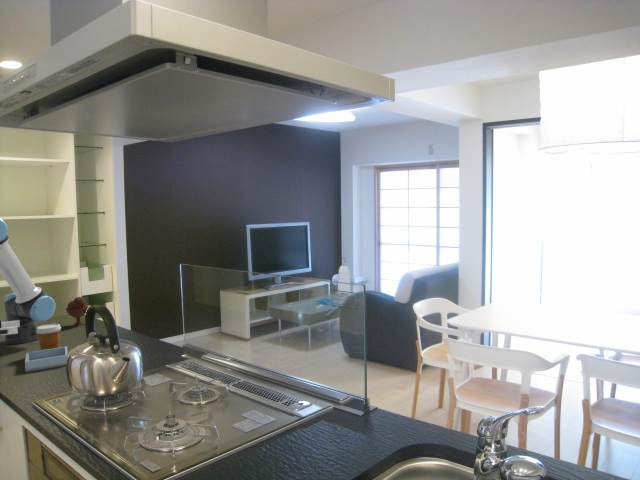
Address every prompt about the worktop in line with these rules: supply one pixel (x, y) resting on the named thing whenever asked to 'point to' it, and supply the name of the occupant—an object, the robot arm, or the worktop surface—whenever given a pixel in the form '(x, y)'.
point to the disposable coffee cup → (49, 336)
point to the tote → (45, 359)
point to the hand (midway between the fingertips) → (18, 326)
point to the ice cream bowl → (77, 309)
